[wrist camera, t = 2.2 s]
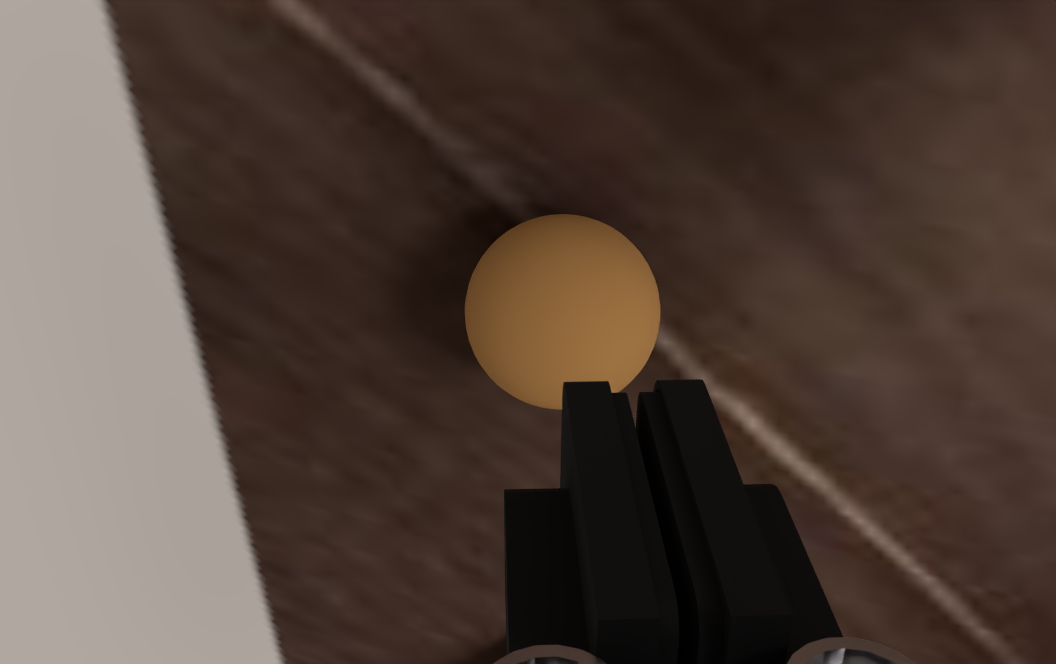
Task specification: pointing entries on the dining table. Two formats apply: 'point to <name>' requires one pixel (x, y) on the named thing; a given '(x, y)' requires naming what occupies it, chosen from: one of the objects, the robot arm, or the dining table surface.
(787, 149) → the dining table surface
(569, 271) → the ball
